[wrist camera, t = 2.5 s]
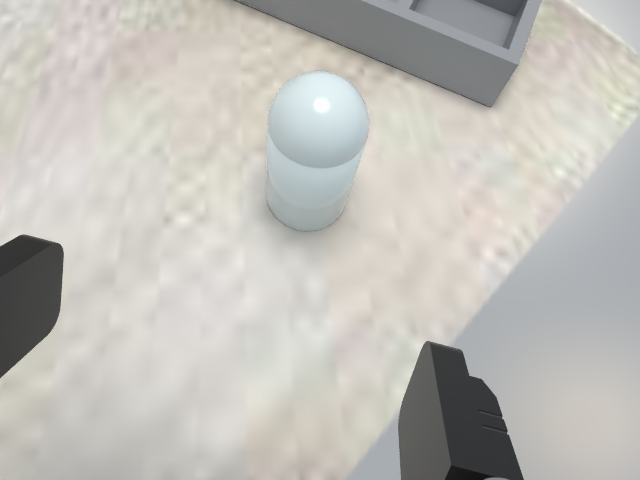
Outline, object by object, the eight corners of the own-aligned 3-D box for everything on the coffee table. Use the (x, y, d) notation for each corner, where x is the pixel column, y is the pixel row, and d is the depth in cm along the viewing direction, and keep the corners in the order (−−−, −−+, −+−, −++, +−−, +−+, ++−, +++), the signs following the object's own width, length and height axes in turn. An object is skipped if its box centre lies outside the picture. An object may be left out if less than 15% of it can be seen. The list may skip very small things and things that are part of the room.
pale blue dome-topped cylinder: (252, 210, 30) (248, 111, 21) (287, 147, 32) (296, 32, 23) (327, 244, 30) (354, 156, 21) (358, 178, 31) (394, 73, 23)
